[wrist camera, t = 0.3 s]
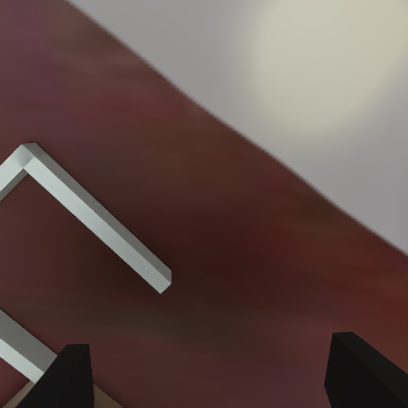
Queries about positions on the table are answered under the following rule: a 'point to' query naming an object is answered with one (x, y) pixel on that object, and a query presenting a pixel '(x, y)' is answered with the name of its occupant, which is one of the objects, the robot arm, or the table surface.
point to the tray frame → (95, 220)
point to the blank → (103, 399)
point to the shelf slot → (19, 396)
